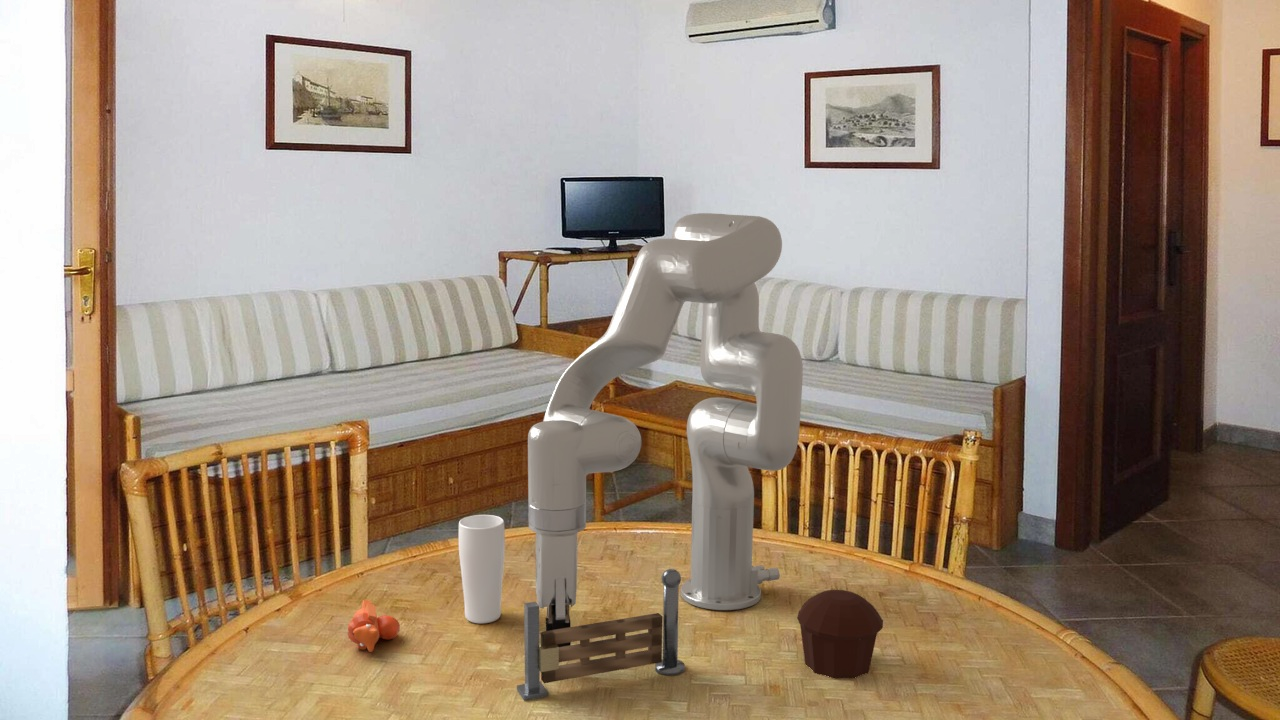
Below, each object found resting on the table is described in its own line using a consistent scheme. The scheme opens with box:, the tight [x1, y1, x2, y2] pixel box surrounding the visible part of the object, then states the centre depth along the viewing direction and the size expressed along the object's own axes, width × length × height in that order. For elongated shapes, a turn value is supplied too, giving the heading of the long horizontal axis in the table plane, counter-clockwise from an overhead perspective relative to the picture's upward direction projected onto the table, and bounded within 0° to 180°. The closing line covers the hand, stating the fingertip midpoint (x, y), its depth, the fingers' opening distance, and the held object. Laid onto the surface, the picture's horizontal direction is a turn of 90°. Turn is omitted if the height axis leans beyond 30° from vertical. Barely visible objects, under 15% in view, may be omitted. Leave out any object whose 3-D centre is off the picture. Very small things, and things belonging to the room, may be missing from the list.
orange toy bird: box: [347, 599, 401, 653], centre depth 162 cm, size 5×8×12 cm
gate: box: [540, 612, 663, 684], centre depth 150 cm, size 16×1×6 cm, turn 113°
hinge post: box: [654, 568, 686, 677], centre depth 153 cm, size 4×4×14 cm
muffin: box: [796, 589, 884, 679], centre depth 156 cm, size 12×11×10 cm
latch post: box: [516, 601, 560, 701], centre depth 146 cm, size 5×3×12 cm
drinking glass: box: [457, 514, 506, 624], centre depth 170 cm, size 7×7×15 cm
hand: (558, 647), depth 153 cm, fingers closed
